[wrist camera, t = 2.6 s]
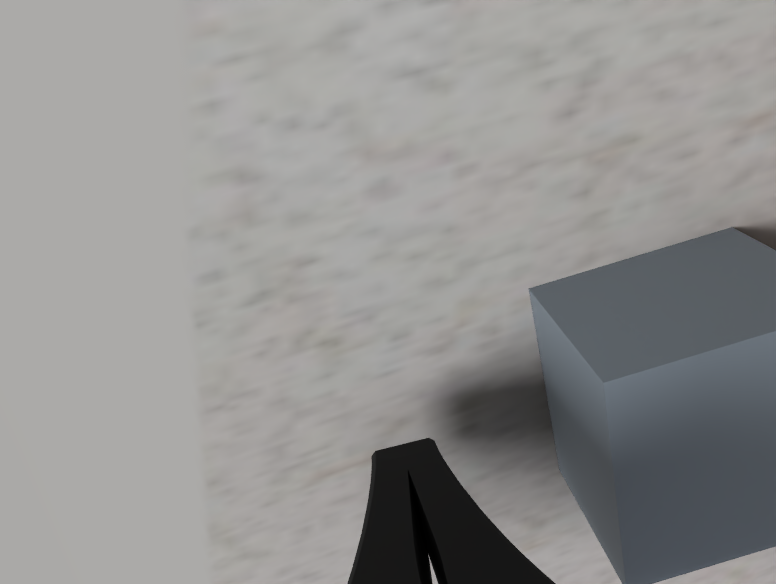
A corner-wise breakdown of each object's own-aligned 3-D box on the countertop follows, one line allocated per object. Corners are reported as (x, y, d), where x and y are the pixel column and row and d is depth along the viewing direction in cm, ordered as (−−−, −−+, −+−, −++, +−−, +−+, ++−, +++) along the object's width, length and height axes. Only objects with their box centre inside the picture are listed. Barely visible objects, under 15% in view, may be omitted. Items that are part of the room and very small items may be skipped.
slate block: (725, 414, 17) (839, 526, 13) (557, 466, 17) (626, 591, 13) (727, 225, 14) (872, 301, 10) (526, 285, 14) (603, 383, 10)
